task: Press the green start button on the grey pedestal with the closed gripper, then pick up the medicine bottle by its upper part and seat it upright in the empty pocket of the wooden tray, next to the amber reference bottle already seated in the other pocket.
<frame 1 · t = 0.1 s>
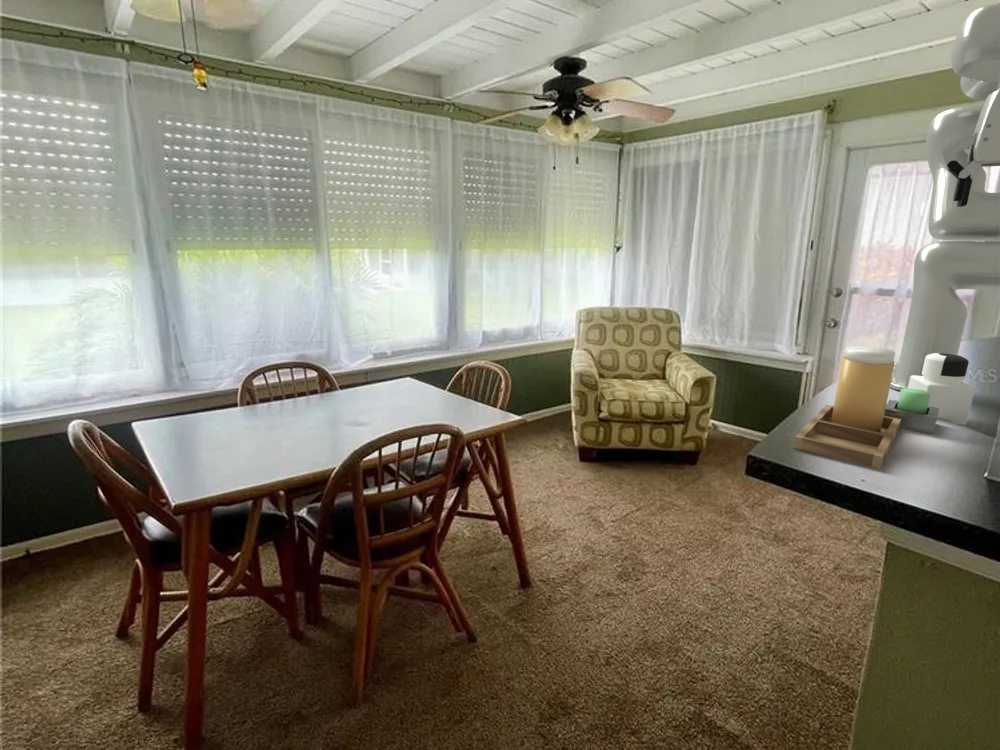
reference bottle: (854, 429, 88), point 1 cm above the table, touching wooden tray
wooden tray: (847, 444, 84), on the table
button pedestal: (907, 430, 91), on the table
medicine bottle: (932, 419, 97), on the table
start button: (913, 402, 89), point 5 cm above the table, slide at 0.0 cm
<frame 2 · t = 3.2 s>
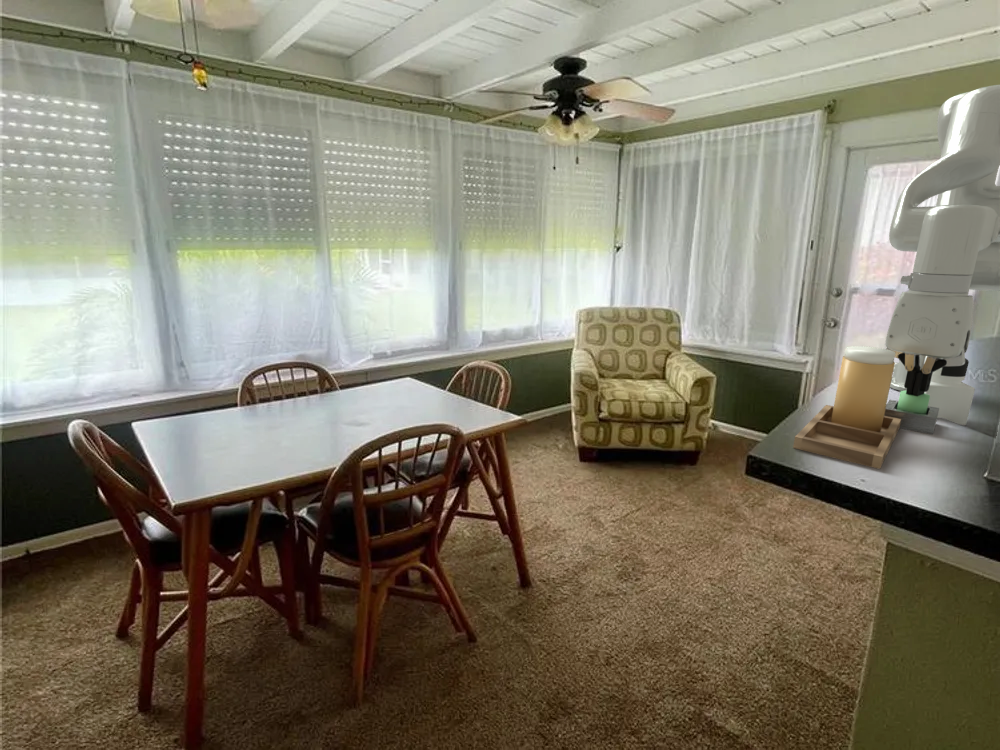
hand: (915, 393, 89), 7 cm above the table, tool pointing down, fingers closed
start button: (912, 405, 90), point 5 cm above the table, slide at 0.4 cm, touching gripper
everything else where it was.
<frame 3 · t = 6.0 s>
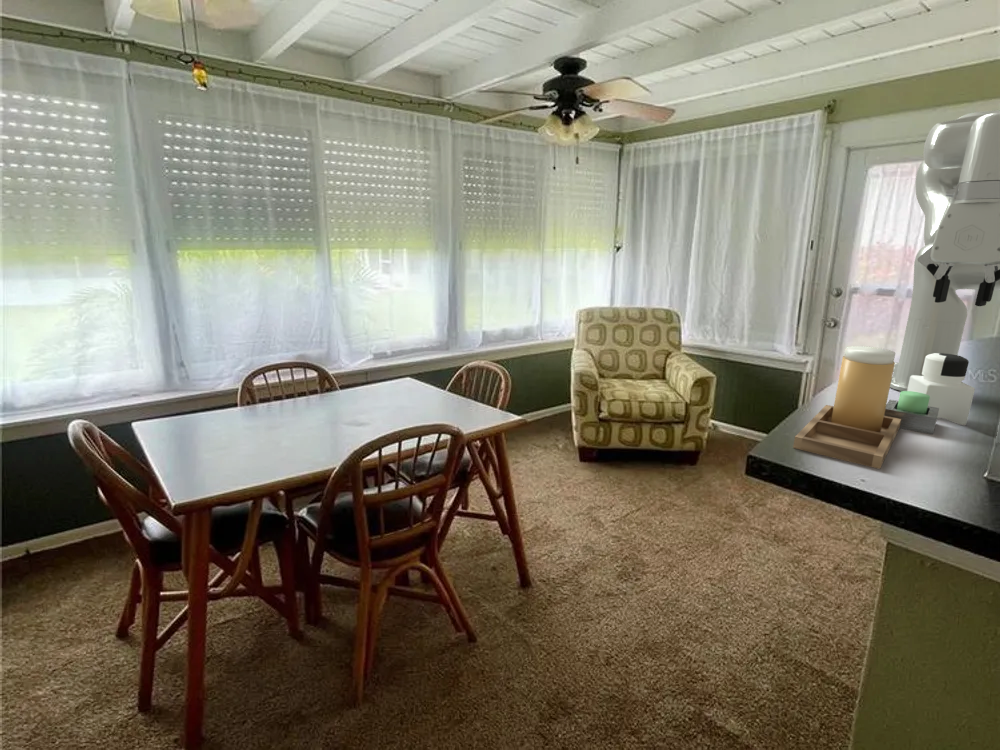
hand: (959, 302, 91), 21 cm above the table, tool pointing down, fingers open, 4 cm apart
start button: (912, 405, 90), point 5 cm above the table, slide at 0.5 cm
everything else where it was.
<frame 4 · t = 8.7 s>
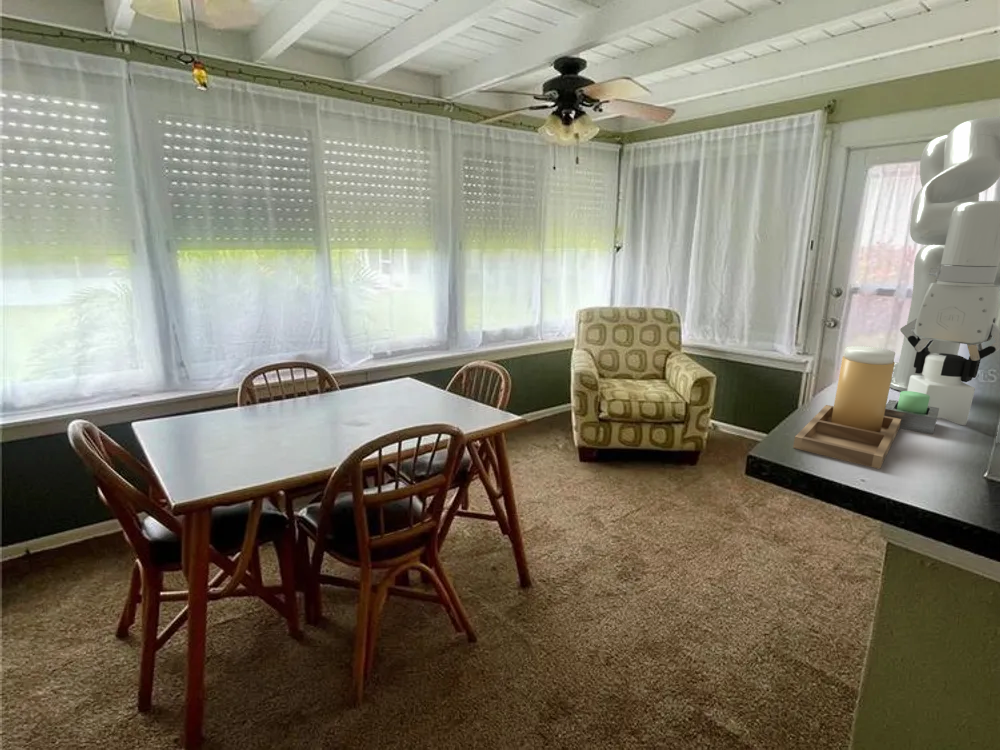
hand: (942, 375, 95), 8 cm above the table, tool pointing down, fingers closed on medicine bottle, 6 cm apart
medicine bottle: (932, 418, 97), on the table, touching gripper
everything else where it was.
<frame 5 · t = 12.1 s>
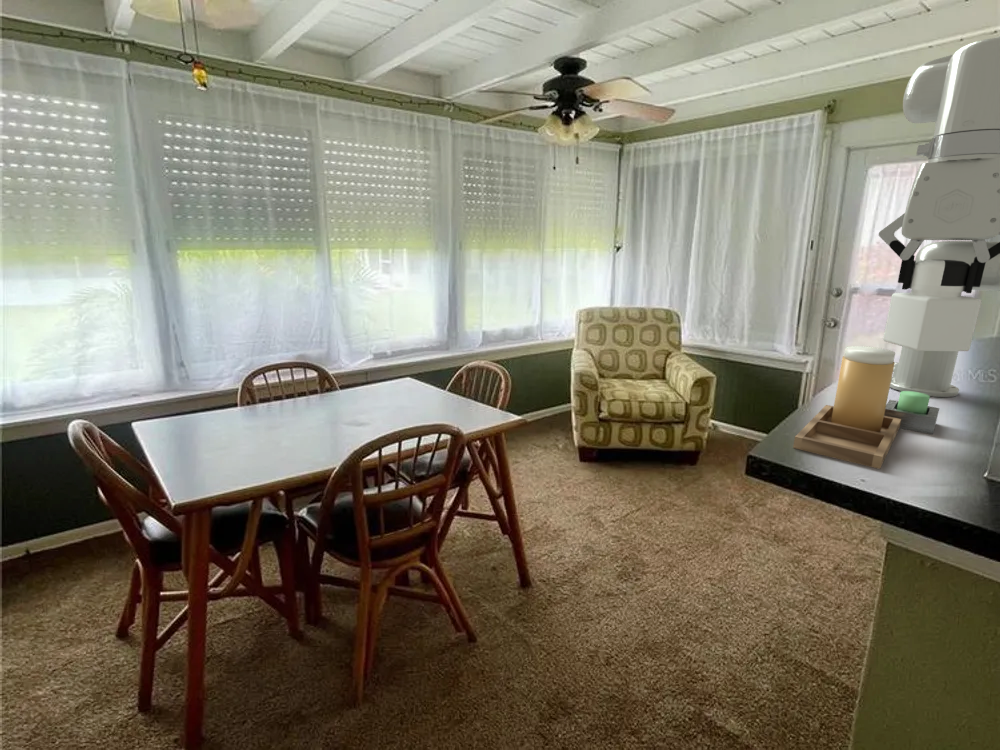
hand: (936, 289, 72), 26 cm above the table, tool pointing down, fingers closed on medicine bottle, 6 cm apart
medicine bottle: (923, 347, 74), point 17 cm above the table, touching gripper
everything else where it was.
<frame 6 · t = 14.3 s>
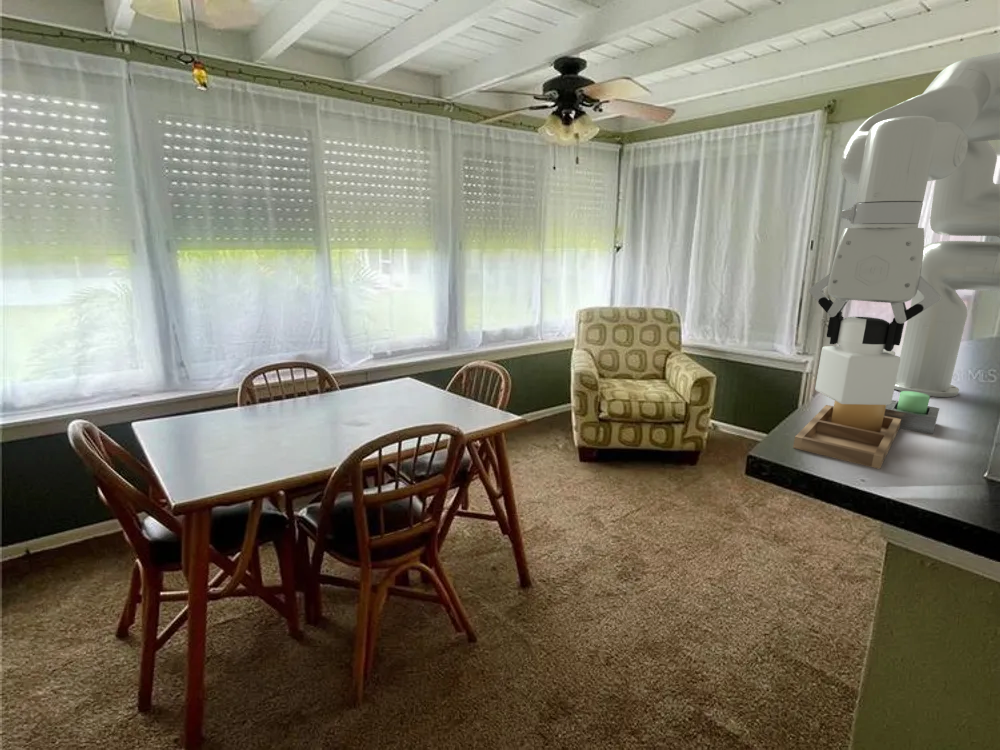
hand: (861, 345, 76), 17 cm above the table, tool pointing down, fingers closed on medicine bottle, 6 cm apart
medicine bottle: (850, 399, 78), point 9 cm above the table, touching gripper
everything else where it was.
when the fingers open (11 cm above the table, at t = 16.0 s): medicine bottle stays where it is, resting on wooden tray.
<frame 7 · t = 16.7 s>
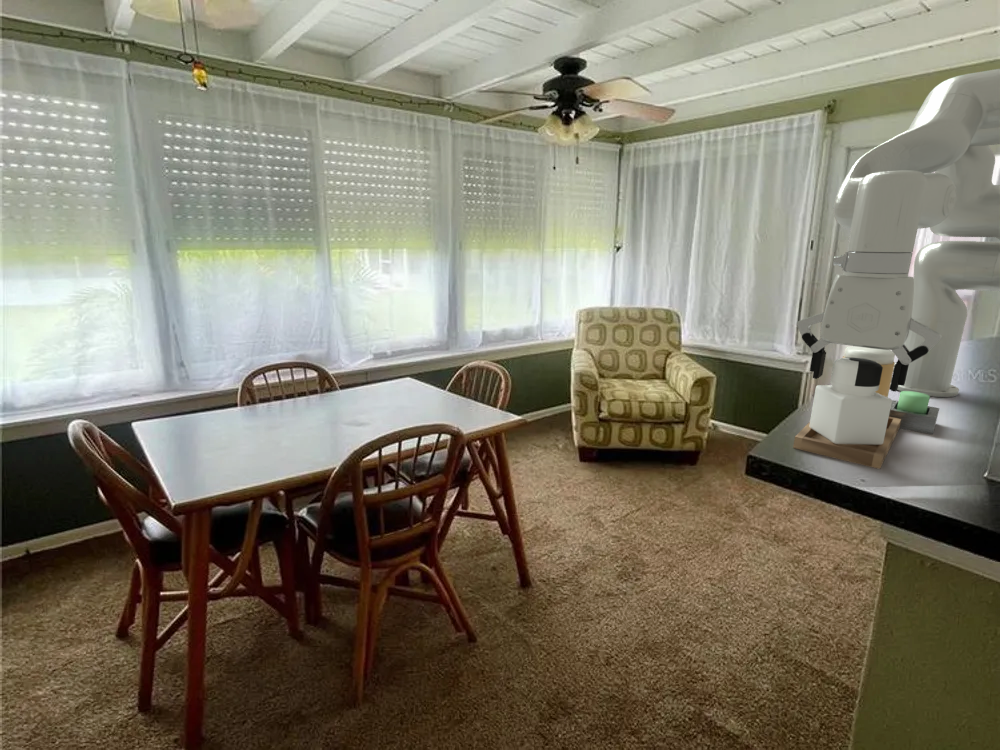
hand: (854, 382, 78), 12 cm above the table, tool pointing down, fingers open, 9 cm apart
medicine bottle: (844, 437, 80), point 3 cm above the table, touching wooden tray
everything else where it was.
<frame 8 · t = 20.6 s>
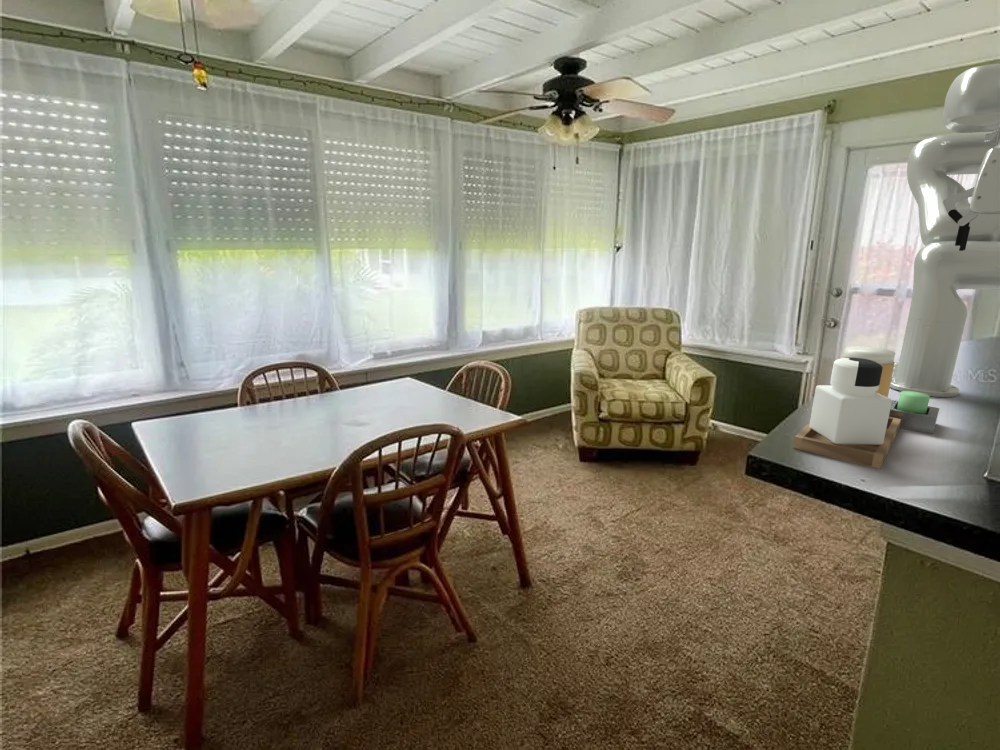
nothing on the table moved.
at the end: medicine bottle 0.2 cm from the target spot on the wooden tray, point 2.8 cm above the wooden tray's base; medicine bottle tilted 0°; reference bottle moved 0.1 cm from its start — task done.
